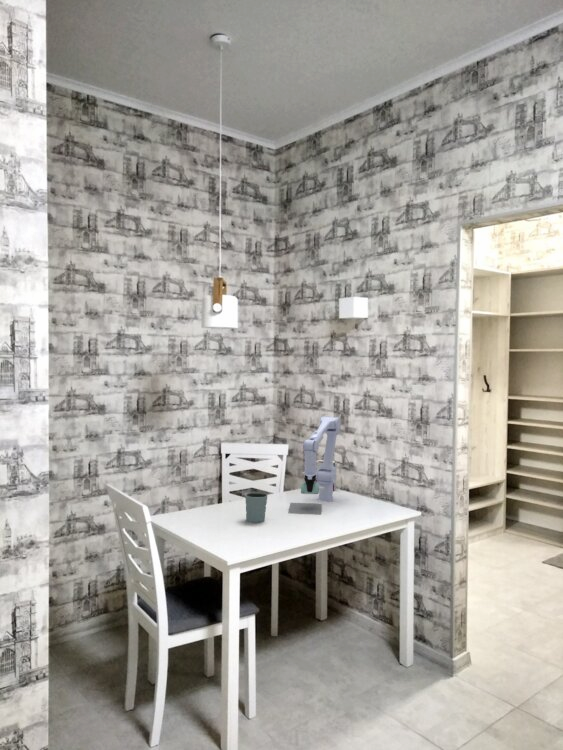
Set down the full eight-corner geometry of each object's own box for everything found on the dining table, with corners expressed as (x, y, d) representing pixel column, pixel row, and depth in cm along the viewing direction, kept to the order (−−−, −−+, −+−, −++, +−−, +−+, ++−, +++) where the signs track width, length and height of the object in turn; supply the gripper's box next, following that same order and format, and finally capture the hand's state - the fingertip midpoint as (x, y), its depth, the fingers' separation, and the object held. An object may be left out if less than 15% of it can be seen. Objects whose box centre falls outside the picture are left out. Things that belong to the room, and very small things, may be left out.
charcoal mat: (290, 503, 297) (290, 502, 297) (321, 504, 296) (321, 503, 296) (287, 514, 278) (287, 513, 278) (321, 515, 276) (321, 514, 276)
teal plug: (300, 493, 287) (300, 483, 287) (301, 491, 291) (301, 481, 291) (323, 494, 286) (323, 484, 286) (323, 492, 290) (323, 482, 290)
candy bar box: (336, 489, 331) (336, 460, 330) (334, 491, 326) (334, 462, 326) (317, 487, 335) (317, 459, 334) (315, 489, 330) (315, 460, 329)
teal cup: (240, 519, 267) (240, 494, 266) (256, 515, 274) (257, 490, 273) (255, 524, 260) (255, 498, 259) (271, 520, 267) (271, 494, 266)
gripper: (303, 460, 295) (302, 487, 296) (301, 466, 281) (301, 494, 281) (316, 461, 295) (316, 487, 295) (316, 466, 280) (315, 494, 281)
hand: (309, 490), depth 288 cm, fingers closed on teal plug, 4 cm apart
